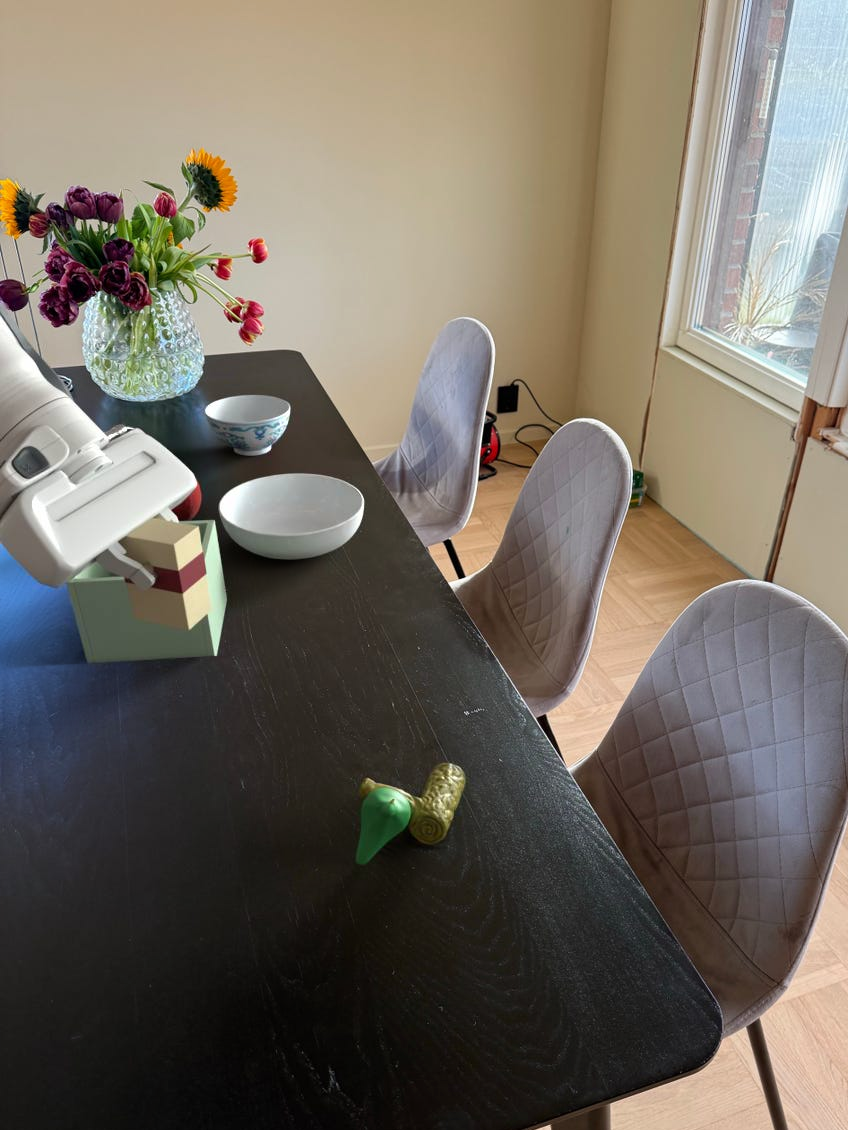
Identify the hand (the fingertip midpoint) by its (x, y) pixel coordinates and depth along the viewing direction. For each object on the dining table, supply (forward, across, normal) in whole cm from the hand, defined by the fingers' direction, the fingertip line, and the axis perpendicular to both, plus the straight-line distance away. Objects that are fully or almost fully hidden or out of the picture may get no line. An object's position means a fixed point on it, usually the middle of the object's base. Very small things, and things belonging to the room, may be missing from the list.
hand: (170, 570), depth 82 cm
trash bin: (+3, -18, -27) cm, 32 cm away
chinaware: (-11, -77, -41) cm, 88 cm away
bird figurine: (+34, +6, +4) cm, 34 cm away
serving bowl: (+6, -45, -24) cm, 51 cm away
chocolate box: (+3, 0, -4) cm, 5 cm away
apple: (-9, -46, -39) cm, 61 cm away
